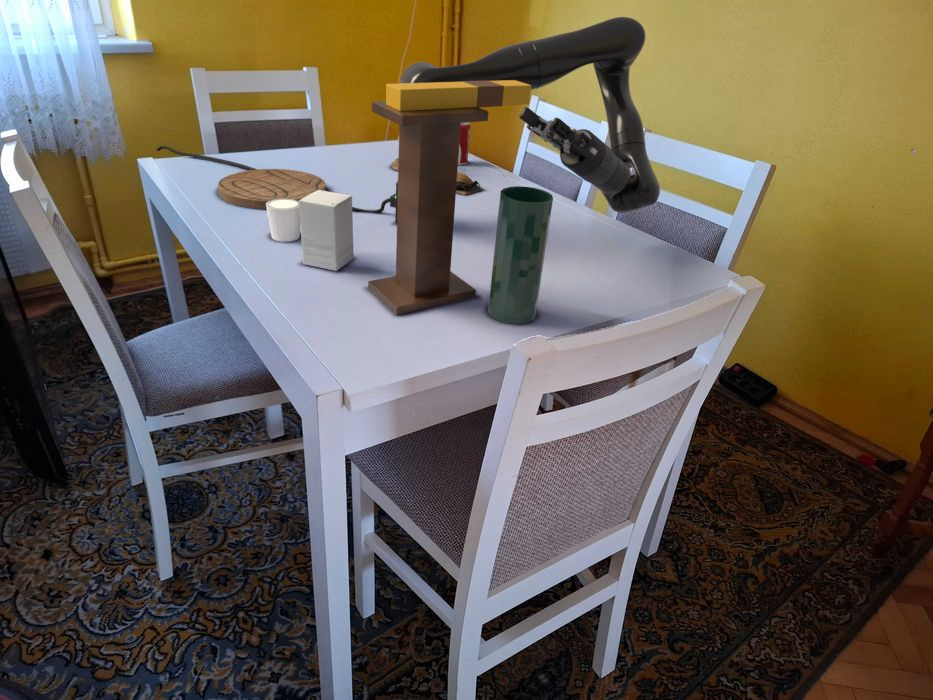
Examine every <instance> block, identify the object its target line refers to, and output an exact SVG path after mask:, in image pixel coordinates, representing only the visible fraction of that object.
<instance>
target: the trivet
mask: <svg viewBox="0 0 933 700" xmlns="http://www.w3.org/2000/svg"><path fill="white" fill-rule="evenodd" d="M257 169H258V168H257ZM217 190H218V196H219V197H220V198H221V199H222V200H223V201H225V202H227V203H229V204H232V205H235V206H239V207H242V208H243V207H244V208H250V209H257V210H267V208H266V203H267V202H268V201H271V200H274V199H293V200H296V201H298V202H299V200H301V199H303V198H304V197H306V196H308V195H310V194H311V193H313V192H315V191H317V190H322V191H327V183H326V181H325V180H324V179H323V178H321V177H320V176H318V175H316V174H313V173H309V172H305V171H301V170H294V169H283V168H259V169H258V170H244V171H238V172H235V173H231V174H228V175H226V176H224V177H222V178H221V179H220V180H219V181H218V183H217Z"/></svg>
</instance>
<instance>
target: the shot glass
mask: <svg viewBox="0 0 933 700" xmlns="http://www.w3.org/2000/svg"><path fill="white" fill-rule="evenodd" d="M266 208H267V209H266V214H267V219H268V222H269V223H268V225H269V230H270V235H271V239H273V240H274V241H277V242H282V243H283V242H285V243H286V242H289V243H290V242H294V241H297V240H299V238H301V224H300V210H299V202H298V201H296V200H293V199H274V200H271V201H268V202H267V203H266Z"/></svg>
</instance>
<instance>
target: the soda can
mask: <svg viewBox="0 0 933 700" xmlns="http://www.w3.org/2000/svg"><path fill="white" fill-rule="evenodd" d="M470 123H471V122H466V123H461V127H460V141H459V155H458V166H466V165H467V164H468V162H469V149H470V138H471V124H470Z"/></svg>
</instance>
